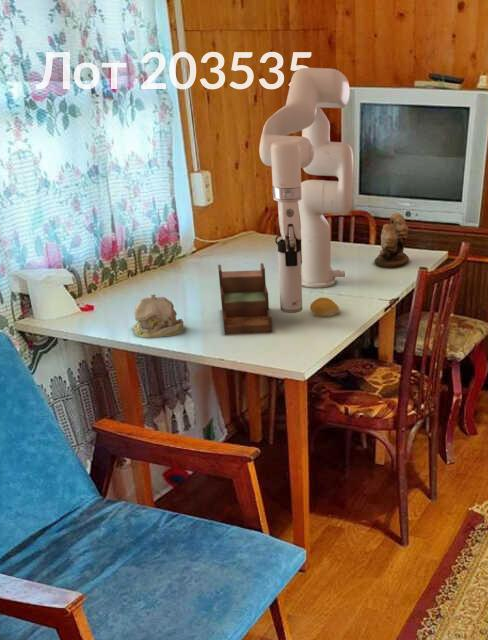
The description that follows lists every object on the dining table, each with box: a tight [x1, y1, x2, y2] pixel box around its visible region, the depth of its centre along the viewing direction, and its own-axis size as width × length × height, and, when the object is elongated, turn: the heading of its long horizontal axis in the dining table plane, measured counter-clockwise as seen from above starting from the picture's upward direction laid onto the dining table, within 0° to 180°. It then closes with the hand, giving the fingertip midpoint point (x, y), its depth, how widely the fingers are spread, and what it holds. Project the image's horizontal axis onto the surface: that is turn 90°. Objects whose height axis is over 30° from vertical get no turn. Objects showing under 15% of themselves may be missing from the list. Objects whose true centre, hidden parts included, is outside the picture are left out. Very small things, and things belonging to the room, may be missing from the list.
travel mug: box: [277, 238, 303, 314], centre depth 207 cm, size 6×7×20 cm
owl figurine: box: [374, 212, 410, 269], centre depth 266 cm, size 18×12×17 cm, turn 163°
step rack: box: [217, 262, 273, 336], centre depth 210 cm, size 13×21×14 cm, turn 11°
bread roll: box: [309, 297, 340, 318], centre depth 220 cm, size 8×9×4 cm
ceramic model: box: [132, 294, 185, 339], centre depth 203 cm, size 14×11×10 cm
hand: (290, 261), depth 205 cm, fingers closed on travel mug, 6 cm apart
